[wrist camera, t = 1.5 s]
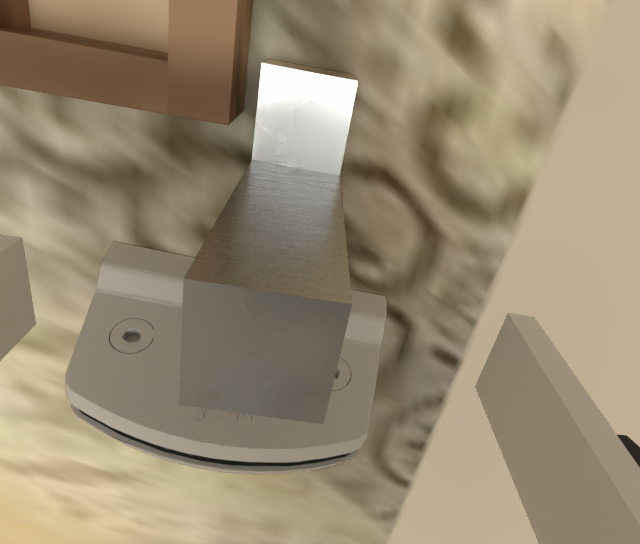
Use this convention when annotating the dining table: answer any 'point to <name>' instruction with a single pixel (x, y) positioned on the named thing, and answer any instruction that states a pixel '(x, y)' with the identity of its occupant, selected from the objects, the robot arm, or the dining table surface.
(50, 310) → the dining table surface
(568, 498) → the robot arm
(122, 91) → the frame
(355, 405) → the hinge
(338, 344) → the bracket
